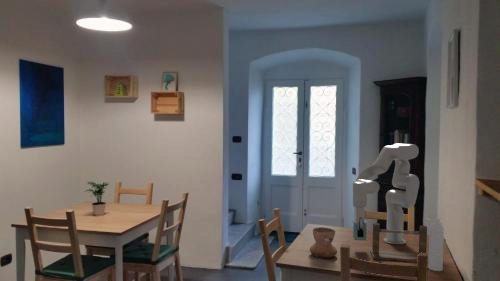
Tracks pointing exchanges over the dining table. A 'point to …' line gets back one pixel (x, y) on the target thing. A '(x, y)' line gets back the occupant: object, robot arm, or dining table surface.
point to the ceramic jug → (323, 243)
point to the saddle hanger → (355, 233)
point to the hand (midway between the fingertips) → (359, 234)
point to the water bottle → (435, 245)
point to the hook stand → (396, 255)
